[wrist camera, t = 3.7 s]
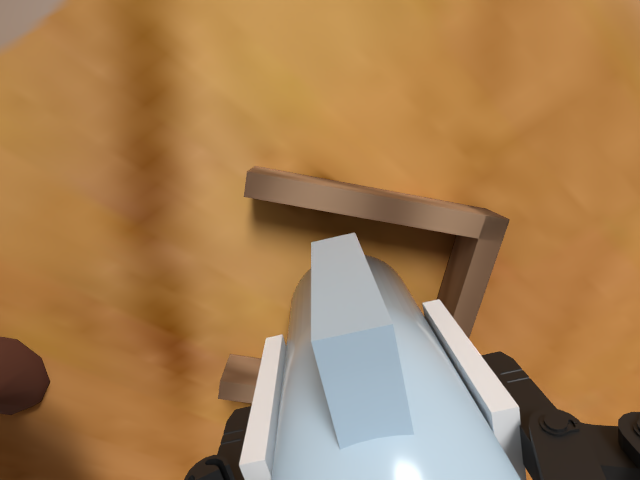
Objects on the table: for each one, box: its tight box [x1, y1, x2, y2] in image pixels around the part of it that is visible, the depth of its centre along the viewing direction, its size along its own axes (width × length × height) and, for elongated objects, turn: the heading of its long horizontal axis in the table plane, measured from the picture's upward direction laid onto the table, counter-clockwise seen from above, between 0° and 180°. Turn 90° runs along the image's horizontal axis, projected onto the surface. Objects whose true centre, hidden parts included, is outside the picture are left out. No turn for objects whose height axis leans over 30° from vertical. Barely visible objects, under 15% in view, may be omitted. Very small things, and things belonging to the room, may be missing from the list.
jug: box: [271, 233, 521, 480], centre depth 13 cm, size 6×9×14 cm
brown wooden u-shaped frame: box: [218, 166, 509, 403], centre depth 21 cm, size 13×13×2 cm
